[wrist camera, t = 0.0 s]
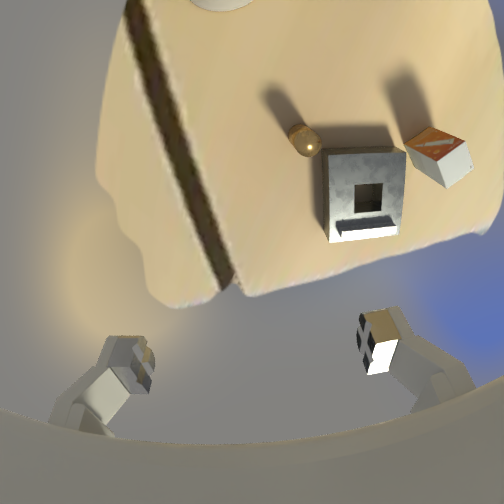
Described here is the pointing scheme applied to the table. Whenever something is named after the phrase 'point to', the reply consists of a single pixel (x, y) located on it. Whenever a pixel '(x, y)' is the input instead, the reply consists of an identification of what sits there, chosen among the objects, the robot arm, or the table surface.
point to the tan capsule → (304, 140)
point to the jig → (343, 185)
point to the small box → (440, 156)
